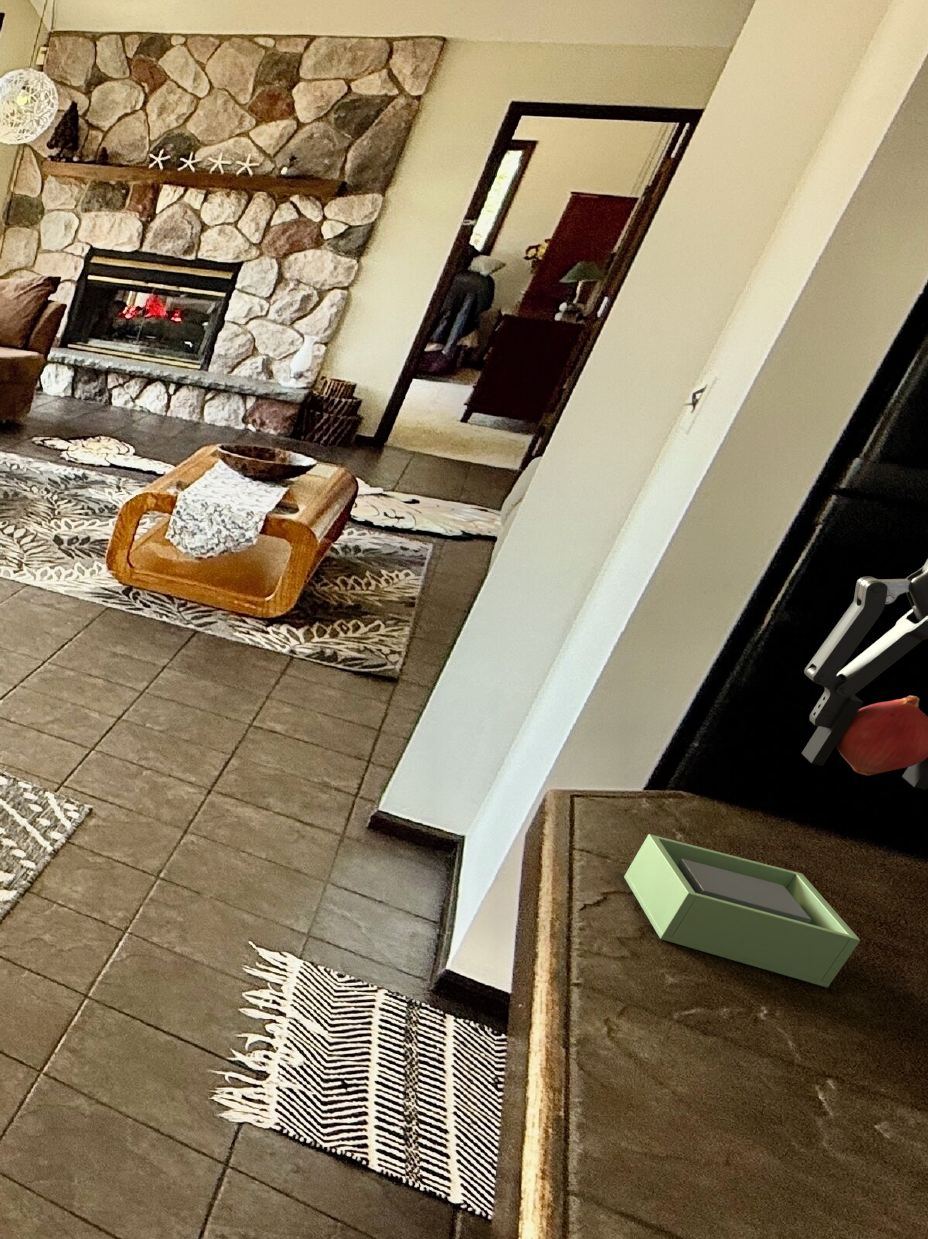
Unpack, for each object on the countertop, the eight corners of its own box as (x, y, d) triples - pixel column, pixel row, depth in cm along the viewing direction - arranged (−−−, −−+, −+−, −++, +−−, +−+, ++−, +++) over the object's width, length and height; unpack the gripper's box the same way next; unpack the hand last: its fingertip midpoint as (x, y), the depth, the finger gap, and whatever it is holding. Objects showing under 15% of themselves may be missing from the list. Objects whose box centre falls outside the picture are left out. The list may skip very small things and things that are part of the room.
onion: (796, 755, 109) (844, 678, 106) (858, 761, 109) (908, 684, 105) (862, 785, 103) (915, 705, 100) (927, 791, 103) (982, 712, 100)
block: (760, 920, 108) (783, 884, 106) (787, 957, 102) (812, 919, 101) (660, 893, 111) (681, 858, 109) (681, 926, 106) (703, 890, 104)
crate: (773, 917, 109) (802, 873, 107) (827, 987, 99) (861, 940, 97) (623, 876, 115) (648, 833, 113) (660, 939, 104) (688, 892, 102)
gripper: (1171, 546, 95) (995, 791, 104) (845, 497, 104) (711, 726, 113) (1228, 565, 89) (1036, 823, 98) (878, 512, 98) (733, 751, 108)
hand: (862, 770), depth 106 cm, fingers closed on onion, 6 cm apart
